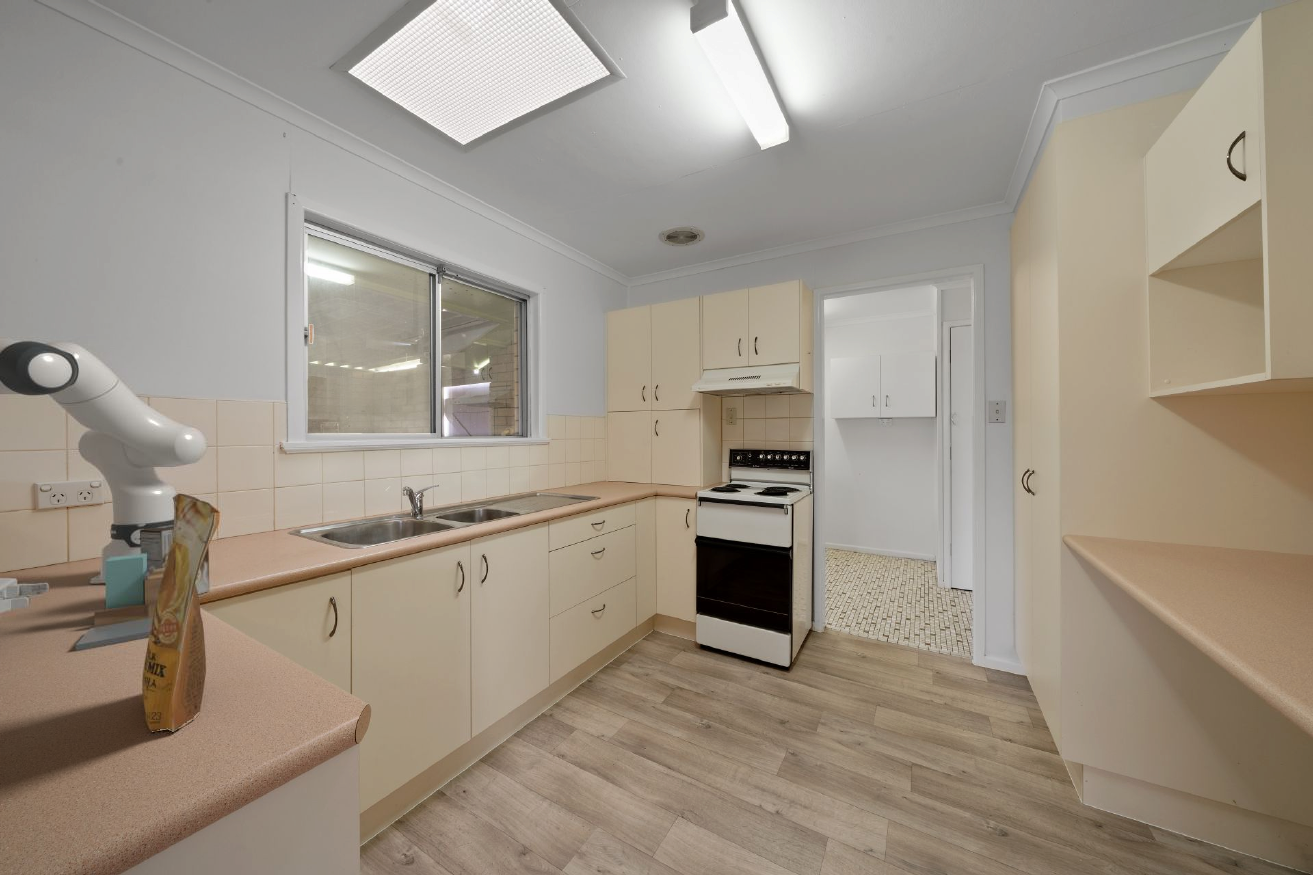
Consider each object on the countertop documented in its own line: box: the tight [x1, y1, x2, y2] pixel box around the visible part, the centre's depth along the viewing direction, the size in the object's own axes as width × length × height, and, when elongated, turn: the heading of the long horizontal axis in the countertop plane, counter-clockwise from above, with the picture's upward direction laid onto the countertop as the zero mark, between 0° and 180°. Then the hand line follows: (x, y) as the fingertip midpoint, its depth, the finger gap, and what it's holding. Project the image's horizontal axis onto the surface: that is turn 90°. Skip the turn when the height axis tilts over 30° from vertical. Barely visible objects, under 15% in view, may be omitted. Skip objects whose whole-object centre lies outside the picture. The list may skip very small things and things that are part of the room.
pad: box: [75, 618, 153, 652], centre depth 87 cm, size 9×9×1 cm
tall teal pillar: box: [105, 553, 147, 610], centre depth 95 cm, size 4×5×12 cm
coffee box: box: [140, 525, 211, 595], centre depth 107 cm, size 9×6×16 cm
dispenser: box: [93, 565, 165, 628], centre depth 97 cm, size 9×12×9 cm
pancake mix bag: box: [141, 493, 221, 733], centre depth 64 cm, size 7×19×28 cm, turn 48°
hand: (38, 594), depth 88 cm, fingers open, 8 cm apart
